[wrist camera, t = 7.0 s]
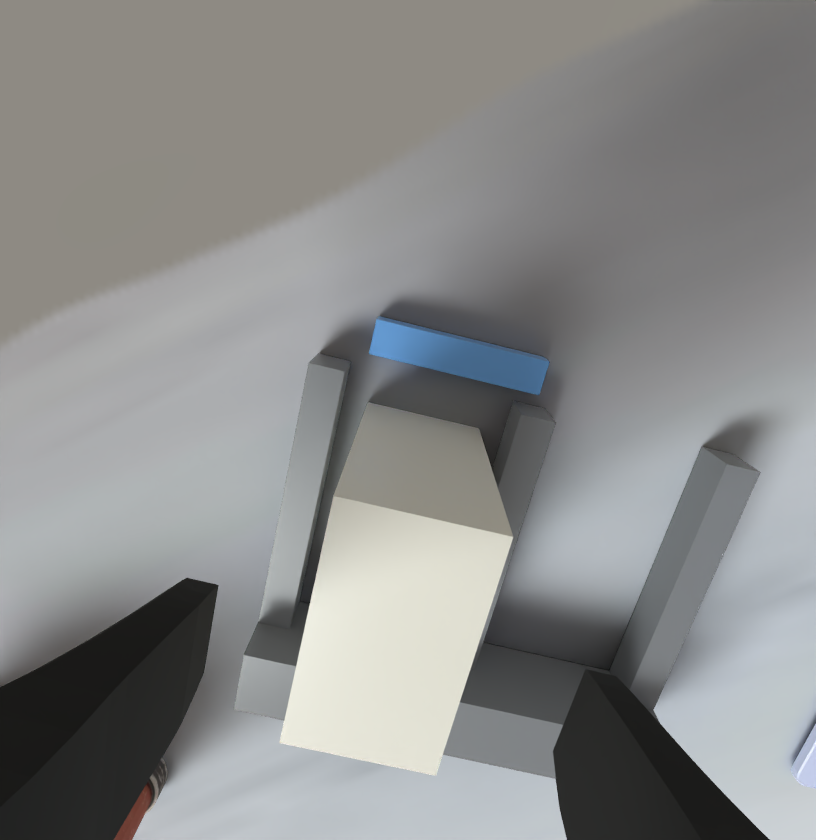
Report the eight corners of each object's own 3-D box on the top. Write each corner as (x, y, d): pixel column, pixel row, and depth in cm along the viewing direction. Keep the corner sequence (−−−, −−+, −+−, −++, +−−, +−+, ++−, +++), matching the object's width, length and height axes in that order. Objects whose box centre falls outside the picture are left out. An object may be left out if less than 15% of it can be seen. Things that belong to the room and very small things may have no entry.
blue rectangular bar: (544, 356, 17) (549, 361, 16) (534, 388, 17) (539, 395, 16) (378, 316, 17) (376, 319, 16) (371, 349, 17) (369, 353, 16)
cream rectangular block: (478, 428, 18) (513, 537, 11) (431, 593, 19) (435, 776, 13) (367, 401, 17) (333, 495, 11) (329, 570, 19) (279, 742, 12)
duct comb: (732, 454, 18) (793, 494, 15) (617, 721, 20) (648, 798, 18) (318, 353, 17) (297, 374, 14) (260, 643, 20) (233, 709, 17)
